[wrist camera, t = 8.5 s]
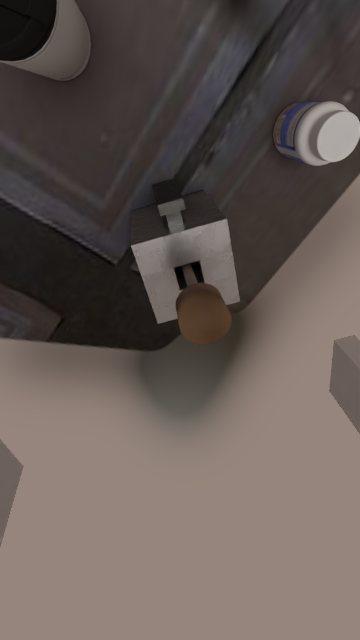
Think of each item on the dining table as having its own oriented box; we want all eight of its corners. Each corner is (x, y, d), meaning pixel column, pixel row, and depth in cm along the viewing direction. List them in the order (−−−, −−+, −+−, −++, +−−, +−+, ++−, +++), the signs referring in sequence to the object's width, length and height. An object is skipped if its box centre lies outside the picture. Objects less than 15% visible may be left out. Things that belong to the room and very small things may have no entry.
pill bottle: (326, 130, 37) (380, 137, 29) (288, 167, 39) (329, 183, 31) (302, 88, 35) (353, 83, 26) (262, 130, 36) (298, 137, 28)
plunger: (159, 272, 42) (174, 366, 27) (144, 223, 38) (152, 299, 23) (209, 258, 41) (252, 345, 26) (198, 207, 38) (242, 274, 23)
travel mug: (88, 93, 33) (42, 82, 16) (17, 64, 31) (-118, 16, 14) (102, 15, 30) (63, -100, 13) (24, -23, 28) (-136, -214, 11)
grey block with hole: (152, 274, 44) (158, 323, 34) (124, 190, 38) (122, 220, 28) (215, 257, 44) (240, 301, 34) (198, 168, 38) (222, 191, 28)
